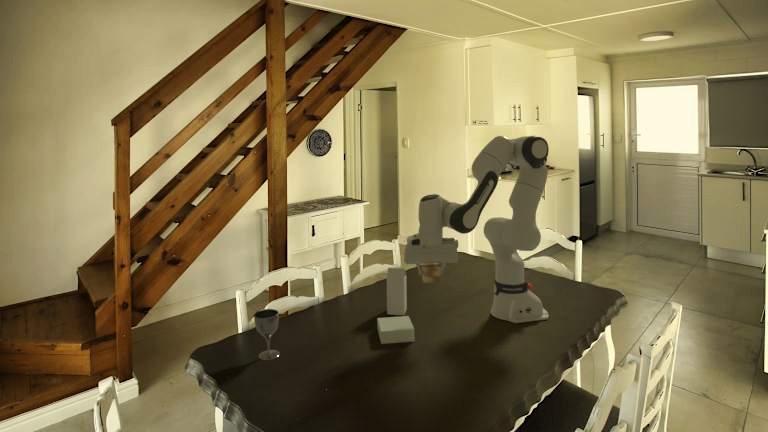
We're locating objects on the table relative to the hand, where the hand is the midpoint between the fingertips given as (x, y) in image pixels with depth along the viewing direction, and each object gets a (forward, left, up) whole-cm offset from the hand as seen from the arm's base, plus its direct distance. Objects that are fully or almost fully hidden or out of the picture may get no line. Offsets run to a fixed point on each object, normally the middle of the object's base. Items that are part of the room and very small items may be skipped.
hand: (430, 274), depth 176 cm
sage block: (+14, +7, -21) cm, 26 cm away
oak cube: (0, 0, -2) cm, 2 cm away
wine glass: (+58, +19, -21) cm, 65 cm away
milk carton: (+12, -15, -21) cm, 29 cm away
